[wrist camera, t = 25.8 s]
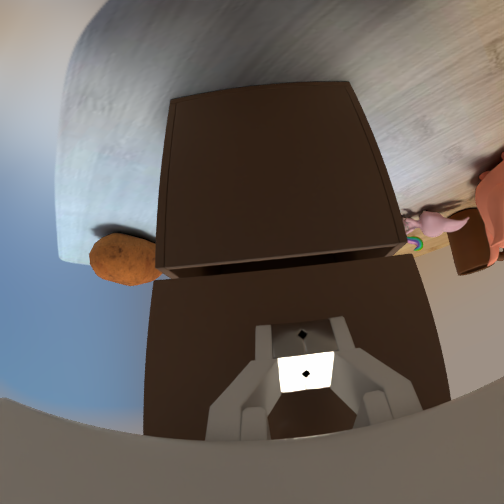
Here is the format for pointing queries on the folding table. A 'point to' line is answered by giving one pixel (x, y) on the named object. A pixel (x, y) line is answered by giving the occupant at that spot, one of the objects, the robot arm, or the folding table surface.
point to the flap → (279, 312)
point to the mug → (470, 243)
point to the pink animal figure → (431, 226)
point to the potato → (124, 259)
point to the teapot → (492, 207)
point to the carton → (272, 182)
